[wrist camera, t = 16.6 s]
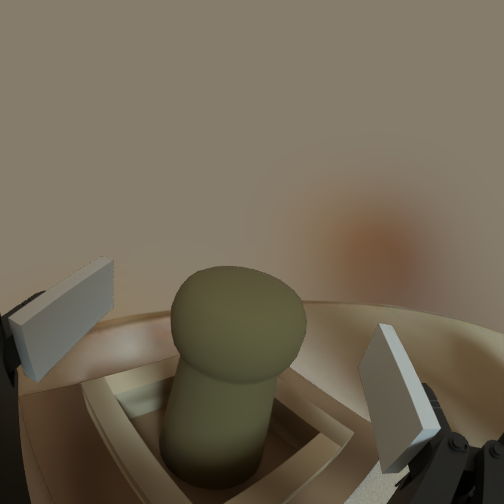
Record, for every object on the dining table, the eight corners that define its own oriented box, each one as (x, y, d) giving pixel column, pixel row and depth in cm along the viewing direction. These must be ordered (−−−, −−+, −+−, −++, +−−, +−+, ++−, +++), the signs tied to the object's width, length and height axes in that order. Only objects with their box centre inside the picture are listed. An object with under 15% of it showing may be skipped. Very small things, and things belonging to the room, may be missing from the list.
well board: (243, 339, 27) (250, 308, 26) (389, 443, 16) (413, 413, 15) (21, 404, 13) (6, 366, 12) (151, 630, 2) (143, 639, 1)
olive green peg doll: (148, 415, 15) (152, 247, 12) (237, 403, 18) (277, 251, 15) (175, 499, 10) (185, 339, 7) (279, 473, 13) (361, 318, 10)
